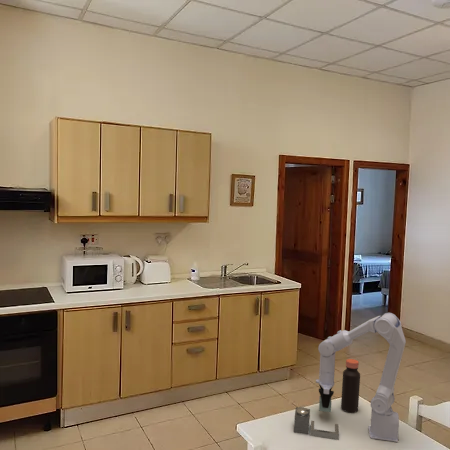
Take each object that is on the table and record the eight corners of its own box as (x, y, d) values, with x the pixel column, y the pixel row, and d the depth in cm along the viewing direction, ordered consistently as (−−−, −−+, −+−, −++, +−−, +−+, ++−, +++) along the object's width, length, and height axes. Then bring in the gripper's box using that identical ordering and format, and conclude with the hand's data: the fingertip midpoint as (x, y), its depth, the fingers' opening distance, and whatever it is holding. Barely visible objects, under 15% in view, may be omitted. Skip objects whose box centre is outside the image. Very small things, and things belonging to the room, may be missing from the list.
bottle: (349, 414, 177) (352, 365, 176) (337, 407, 183) (340, 359, 181) (361, 411, 180) (364, 362, 179) (349, 403, 186) (352, 357, 185)
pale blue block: (330, 407, 176) (331, 394, 176) (330, 412, 172) (331, 399, 172) (319, 405, 177) (319, 393, 177) (319, 410, 173) (319, 398, 173)
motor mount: (338, 428, 166) (339, 410, 165) (338, 439, 158) (339, 420, 158) (295, 422, 169) (295, 404, 168) (293, 433, 161) (294, 414, 161)
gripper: (316, 362, 182) (315, 395, 182) (316, 376, 167) (314, 411, 168) (334, 364, 180) (332, 397, 181) (335, 378, 166) (333, 414, 167)
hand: (325, 404), depth 174 cm, fingers closed on pale blue block, 4 cm apart
